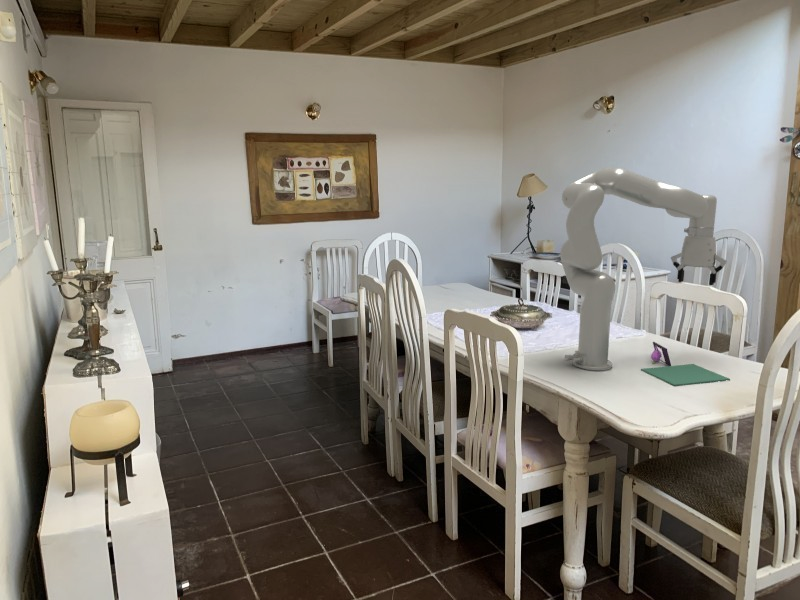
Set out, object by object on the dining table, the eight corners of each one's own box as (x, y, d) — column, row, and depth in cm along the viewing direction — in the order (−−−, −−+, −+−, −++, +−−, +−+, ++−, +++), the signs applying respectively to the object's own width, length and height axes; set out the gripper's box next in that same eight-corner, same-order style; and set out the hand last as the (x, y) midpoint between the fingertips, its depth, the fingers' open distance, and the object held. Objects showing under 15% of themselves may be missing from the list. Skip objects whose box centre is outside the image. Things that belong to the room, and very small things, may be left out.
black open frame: (669, 347, 196) (655, 340, 205) (654, 353, 196) (641, 345, 205) (673, 366, 198) (660, 358, 207) (659, 371, 198) (646, 363, 207)
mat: (674, 386, 179) (674, 384, 179) (640, 370, 195) (640, 368, 194) (730, 380, 184) (730, 378, 184) (692, 365, 199) (693, 363, 199)
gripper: (670, 231, 203) (665, 281, 206) (726, 234, 191) (720, 287, 195) (677, 230, 208) (672, 279, 211) (732, 233, 197) (726, 284, 200)
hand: (695, 283), depth 203 cm, fingers open, 9 cm apart
